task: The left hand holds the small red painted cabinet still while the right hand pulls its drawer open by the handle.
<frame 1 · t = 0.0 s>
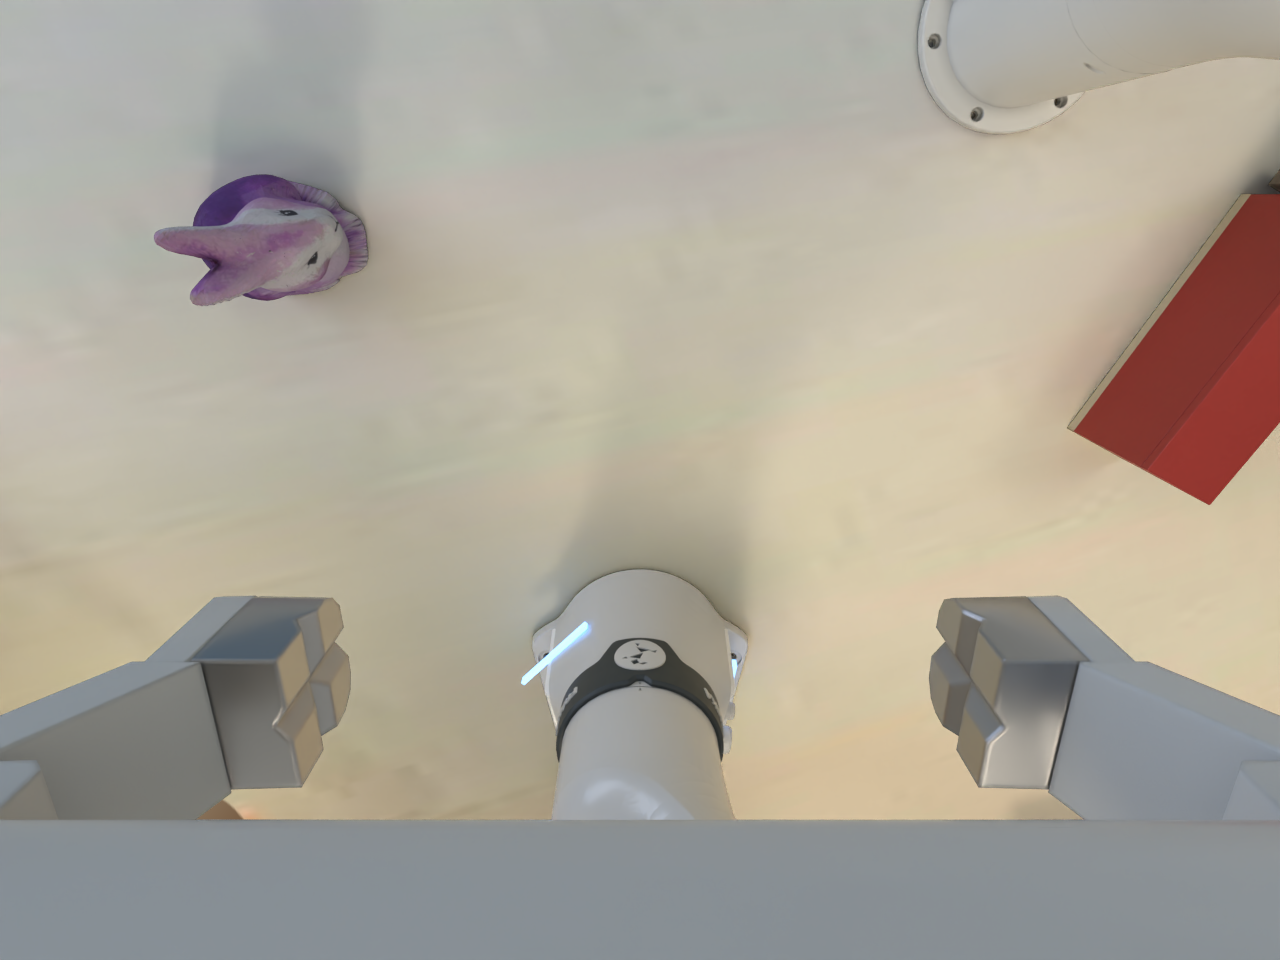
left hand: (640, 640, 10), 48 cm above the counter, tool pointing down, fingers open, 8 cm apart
figurine: (307, 234, 54), on the counter
cabinet: (1177, 334, 57), on the counter
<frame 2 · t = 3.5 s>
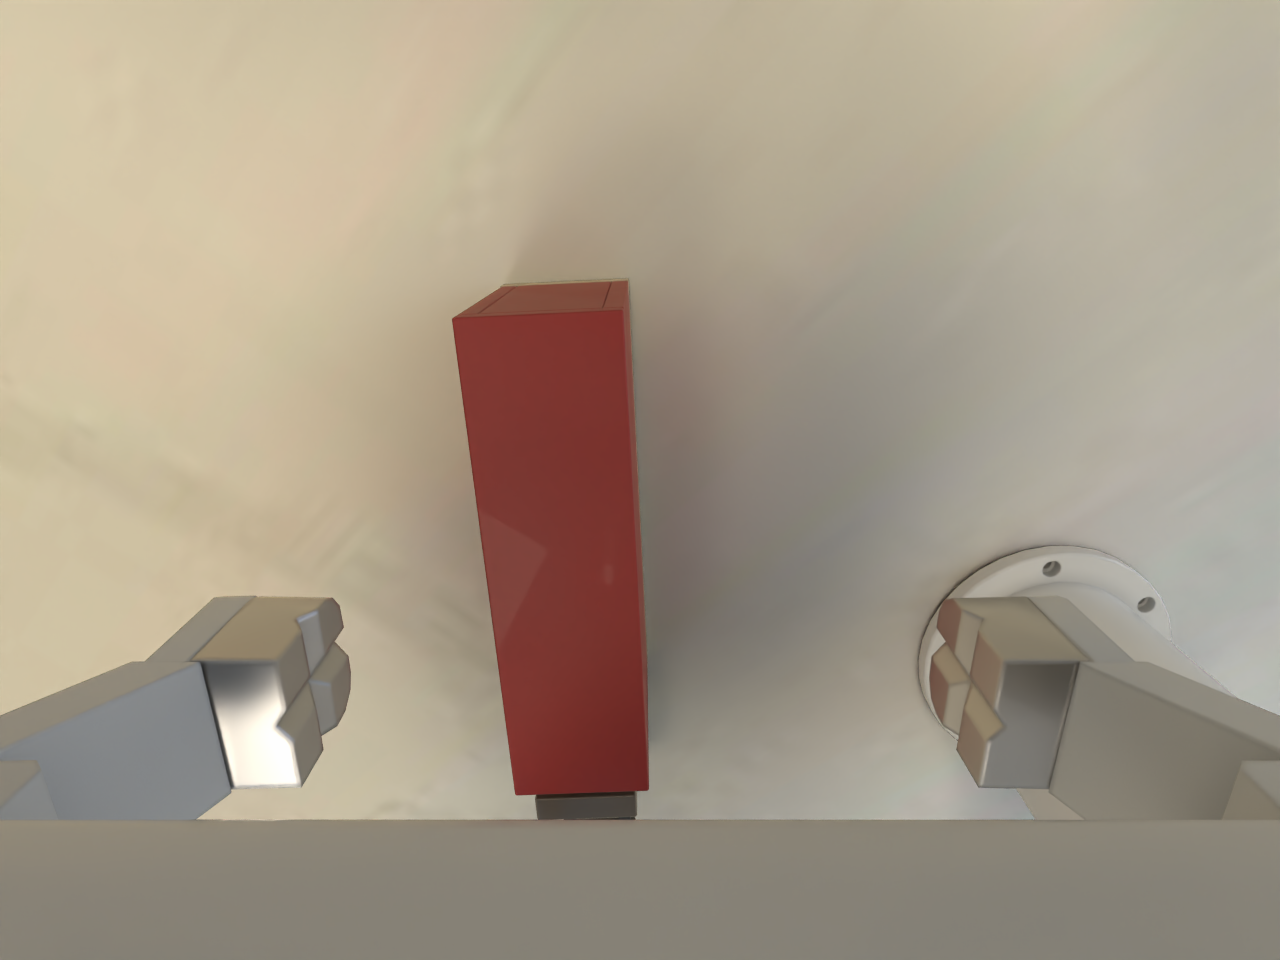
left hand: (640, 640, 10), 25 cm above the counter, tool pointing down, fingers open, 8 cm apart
drawer: (582, 636, 34), point 5 cm above the counter, slide at 1.0 cm
cabinet: (582, 486, 37), on the counter
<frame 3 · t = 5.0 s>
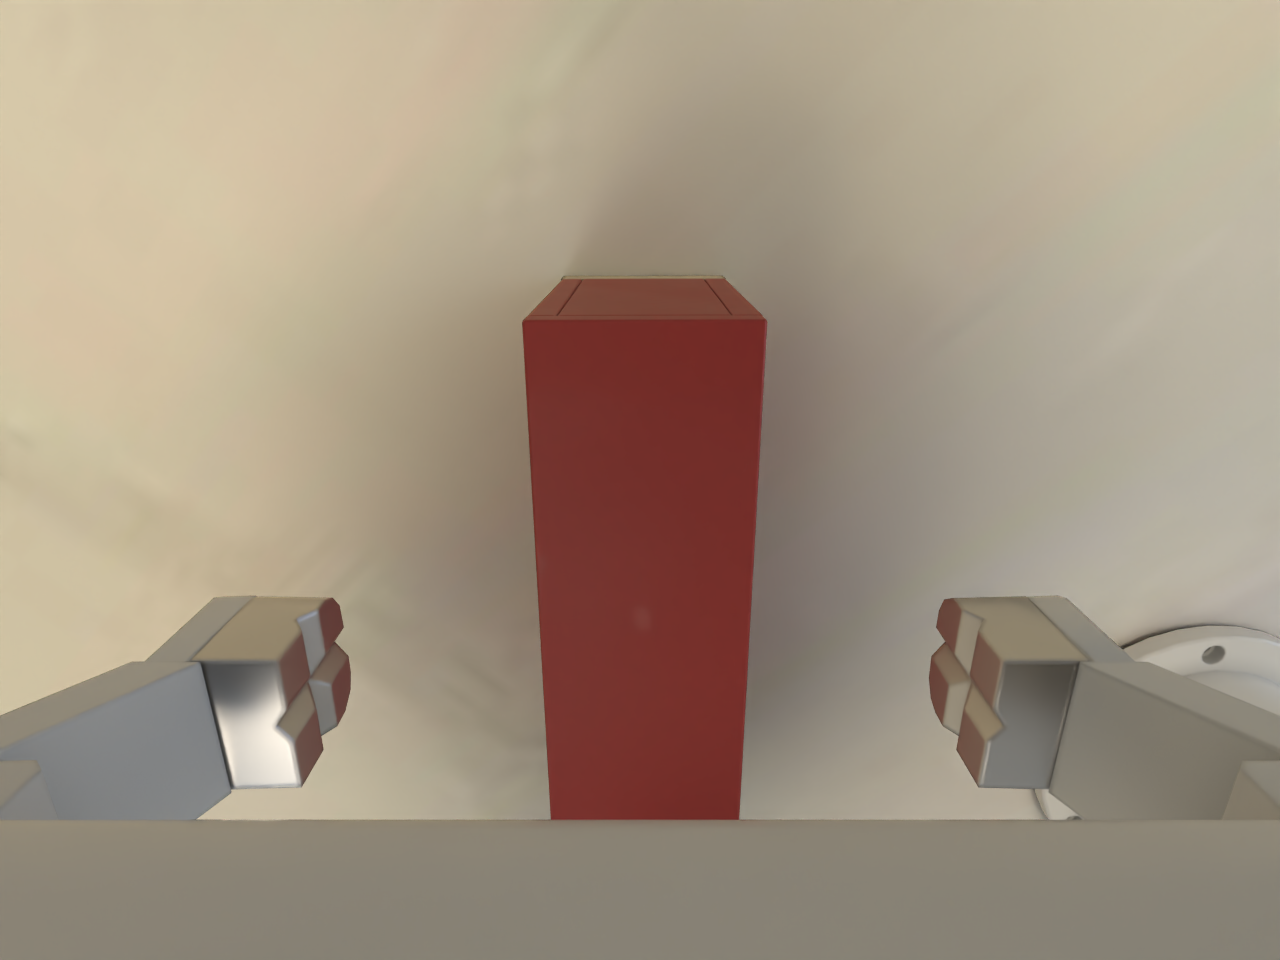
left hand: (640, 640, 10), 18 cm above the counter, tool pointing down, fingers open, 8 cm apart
cabinet: (643, 531, 29), on the counter
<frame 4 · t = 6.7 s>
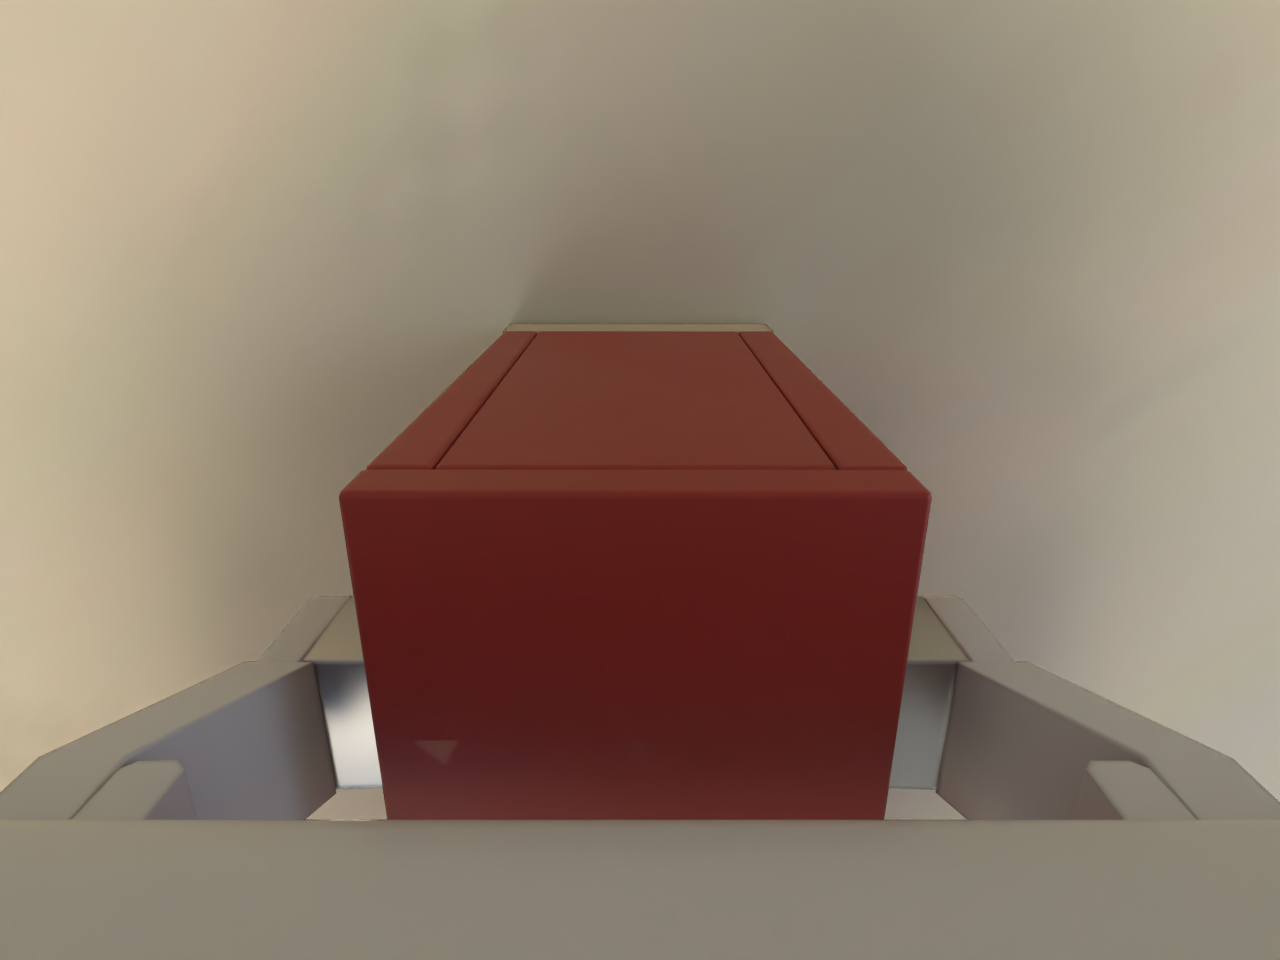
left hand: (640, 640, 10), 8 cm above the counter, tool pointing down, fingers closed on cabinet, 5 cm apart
cabinet: (638, 699, 20), on the counter, touching left hand
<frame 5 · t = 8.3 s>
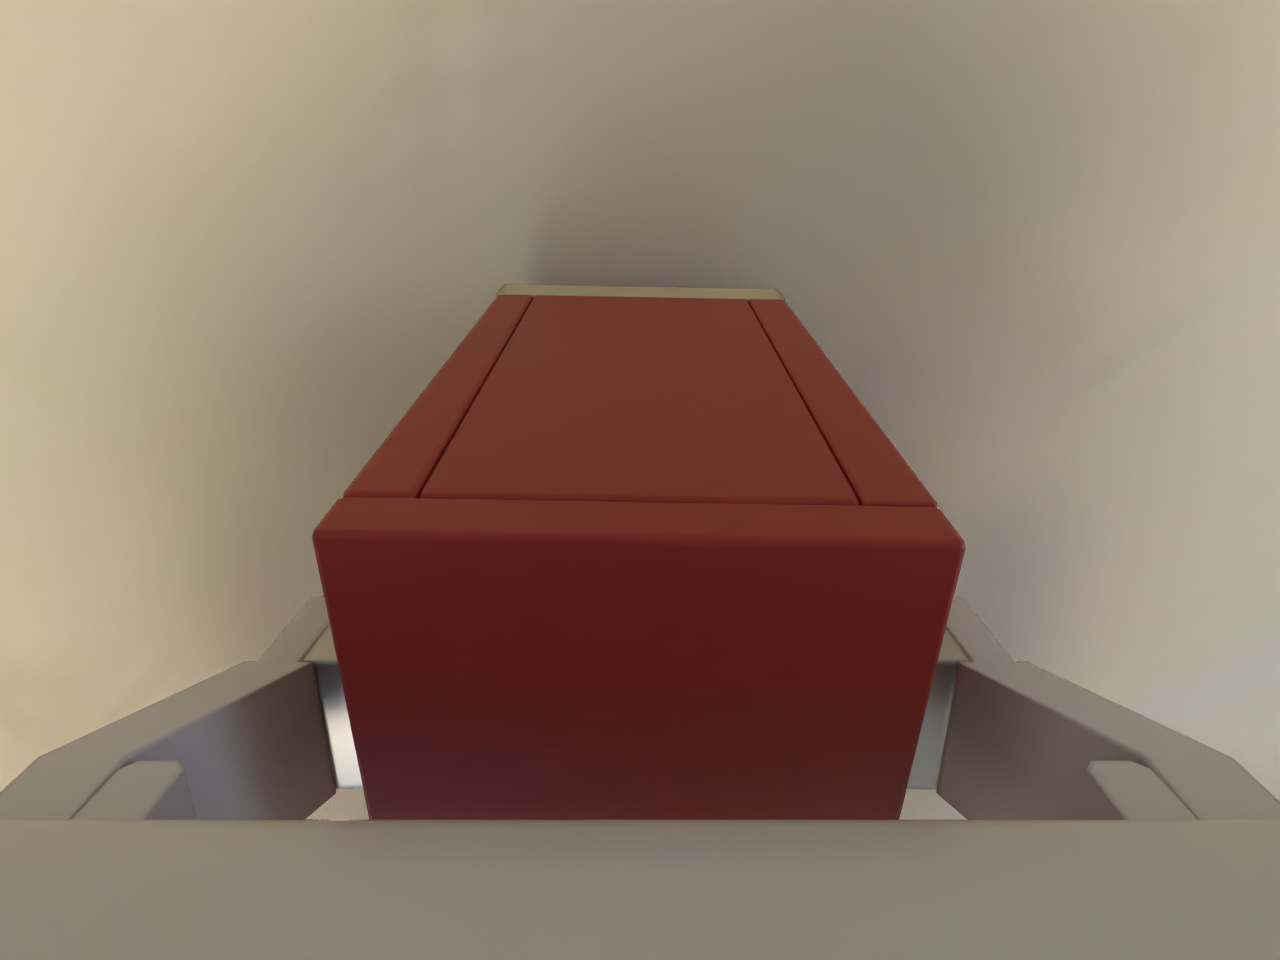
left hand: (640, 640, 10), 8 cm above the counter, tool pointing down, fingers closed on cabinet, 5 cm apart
cabinet: (634, 666, 19), point 1 cm above the counter, touching left hand
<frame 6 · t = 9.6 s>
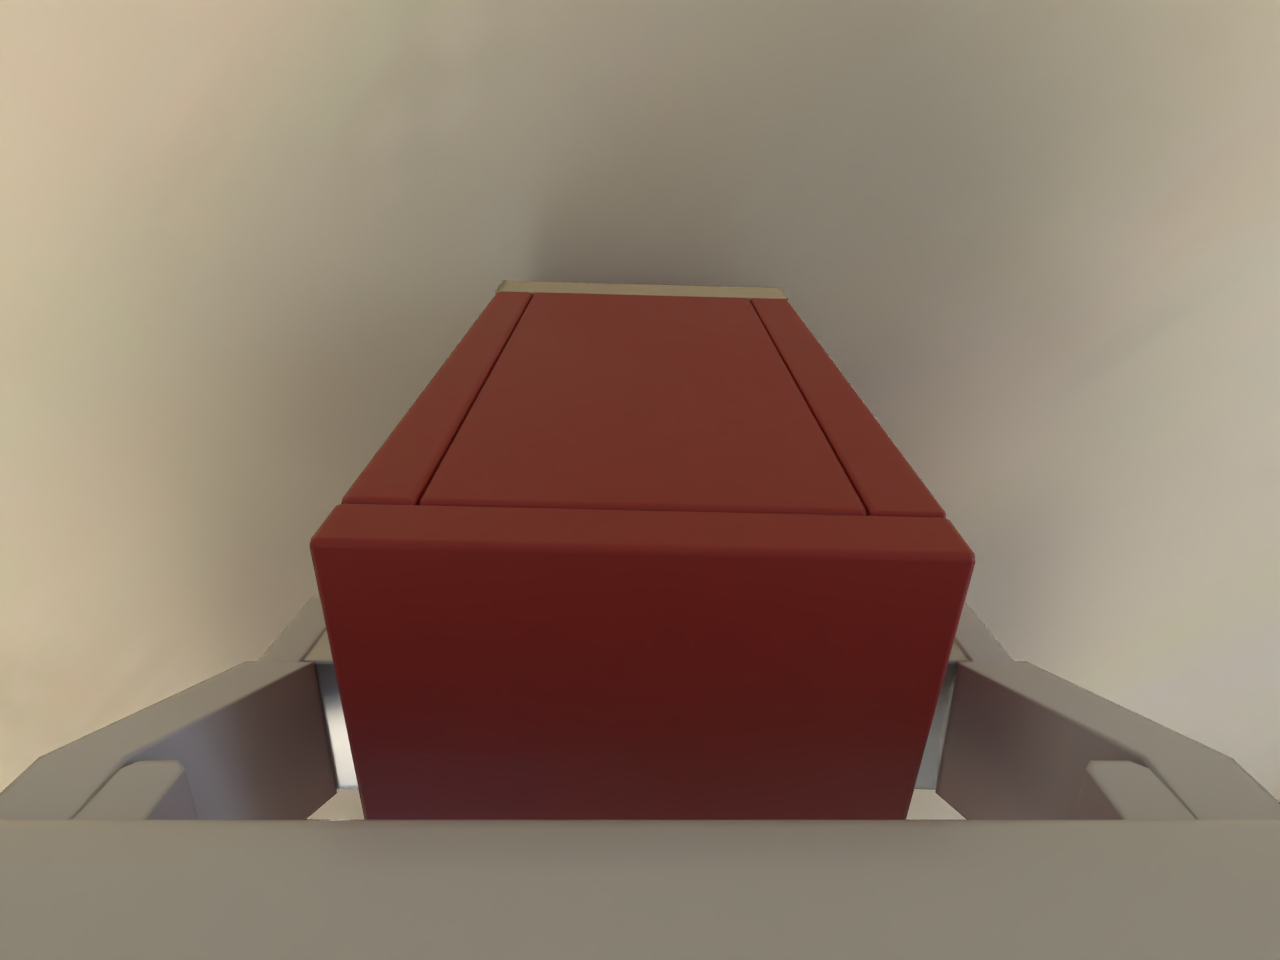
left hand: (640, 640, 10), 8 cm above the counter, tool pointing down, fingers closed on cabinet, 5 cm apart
cabinet: (631, 665, 19), point 1 cm above the counter, touching left hand
when the left hand's fingers open (8 cm above the counter, at t = 11.3 s): cabinet stays where it is, on the counter.
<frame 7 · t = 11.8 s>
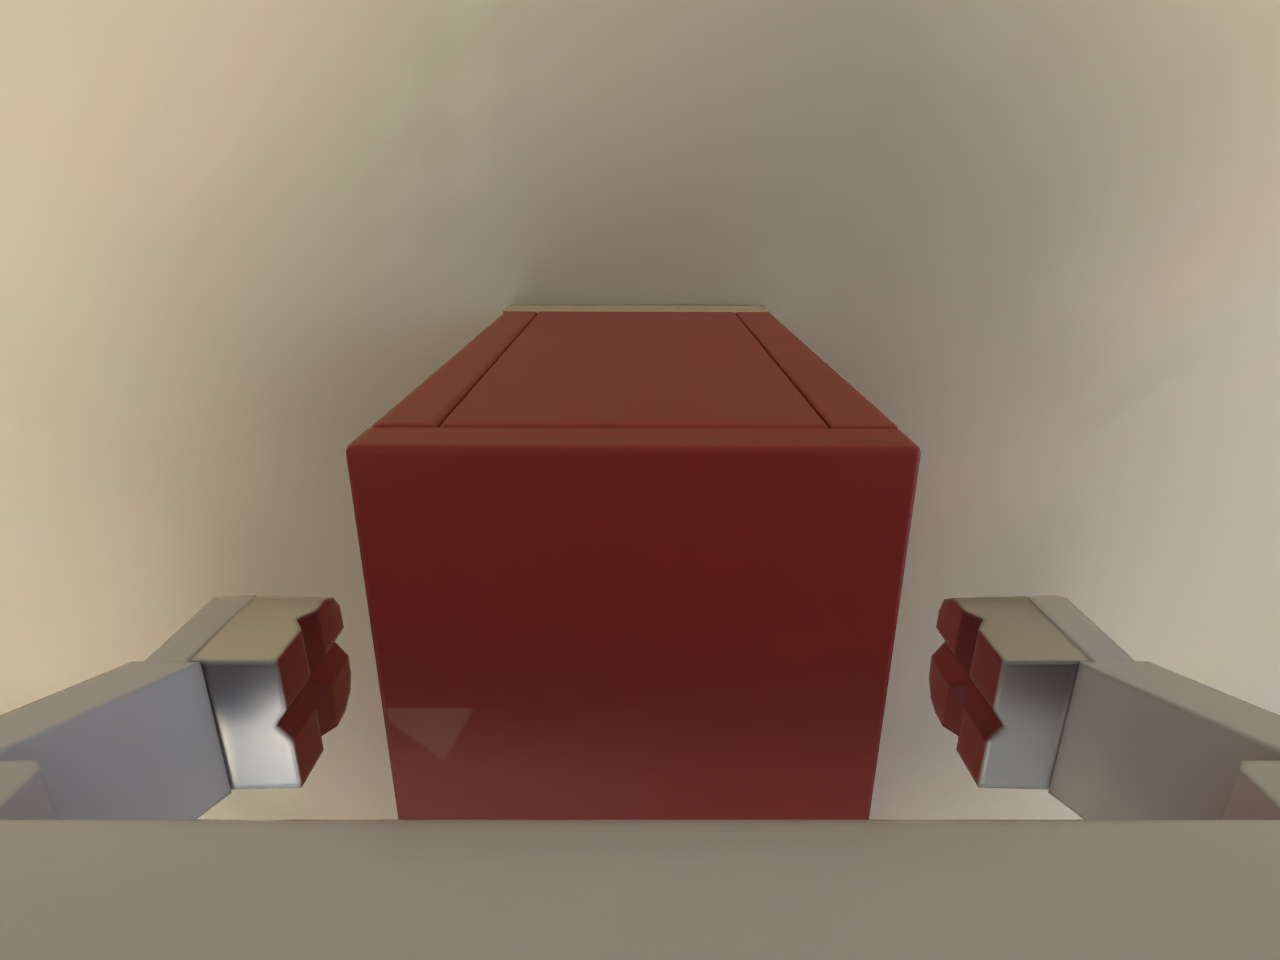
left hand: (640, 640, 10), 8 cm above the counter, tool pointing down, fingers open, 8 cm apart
cabinet: (636, 680, 20), on the counter
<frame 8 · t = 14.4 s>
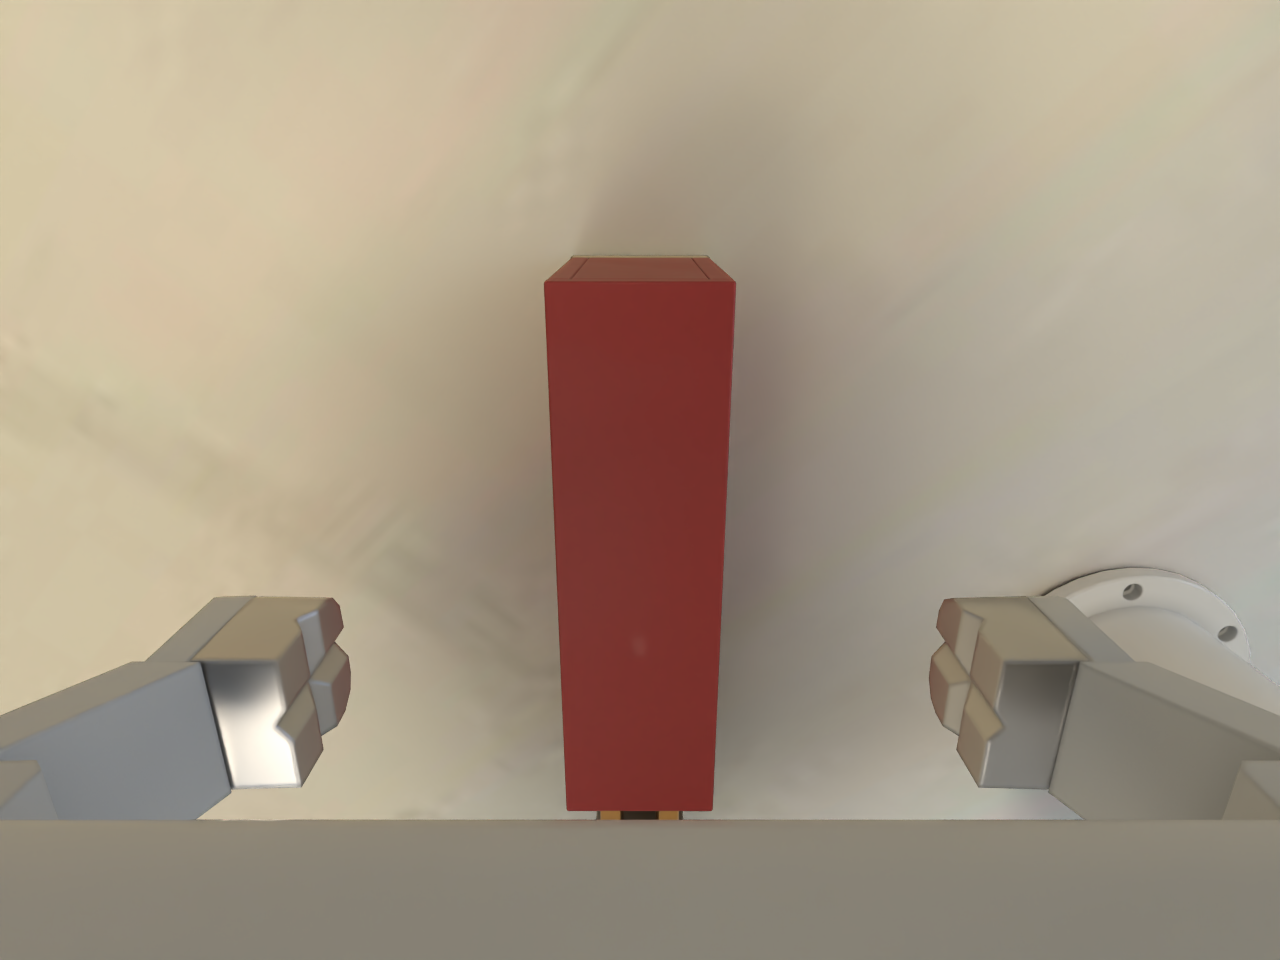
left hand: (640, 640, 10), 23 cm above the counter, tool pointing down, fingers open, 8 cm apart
drawer: (639, 758, 33), point 5 cm above the counter, slide at 7.2 cm
cabinet: (639, 478, 34), on the counter
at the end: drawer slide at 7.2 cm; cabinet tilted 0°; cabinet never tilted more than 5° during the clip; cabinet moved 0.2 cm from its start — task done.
